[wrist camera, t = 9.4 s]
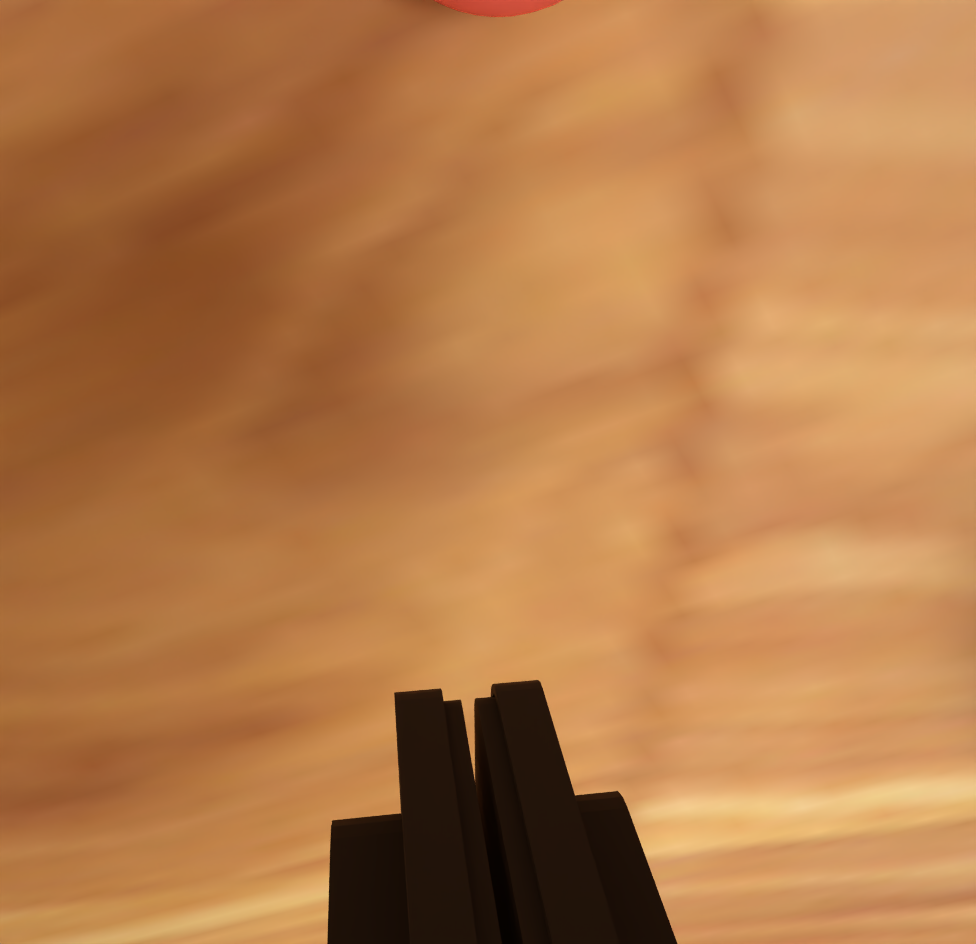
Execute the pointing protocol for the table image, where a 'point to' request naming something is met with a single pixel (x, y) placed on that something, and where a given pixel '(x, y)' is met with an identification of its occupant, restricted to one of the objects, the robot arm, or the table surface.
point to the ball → (498, 6)
